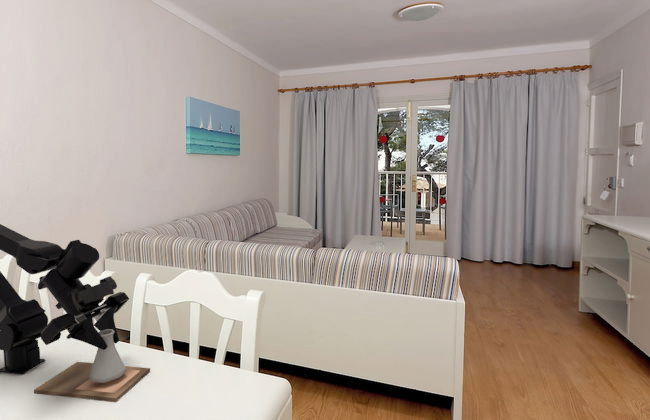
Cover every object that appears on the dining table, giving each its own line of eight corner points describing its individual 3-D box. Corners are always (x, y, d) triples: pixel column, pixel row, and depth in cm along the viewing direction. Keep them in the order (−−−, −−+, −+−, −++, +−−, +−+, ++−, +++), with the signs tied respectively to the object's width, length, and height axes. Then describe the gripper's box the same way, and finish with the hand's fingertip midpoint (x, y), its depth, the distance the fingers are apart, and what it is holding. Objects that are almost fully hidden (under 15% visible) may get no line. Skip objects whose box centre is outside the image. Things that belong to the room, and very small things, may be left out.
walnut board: (34, 393, 82) (33, 389, 82) (77, 364, 94) (77, 361, 94) (116, 401, 79) (115, 397, 79) (150, 371, 91) (150, 367, 91)
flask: (103, 387, 81) (100, 342, 80) (81, 378, 84) (78, 335, 83) (133, 371, 88) (131, 329, 86) (112, 363, 91) (110, 322, 90)
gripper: (48, 280, 75) (97, 342, 74) (121, 258, 93) (161, 308, 92) (19, 314, 78) (66, 374, 77) (96, 287, 96) (134, 335, 94)
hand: (111, 345), depth 85 cm, fingers closed on flask, 3 cm apart
